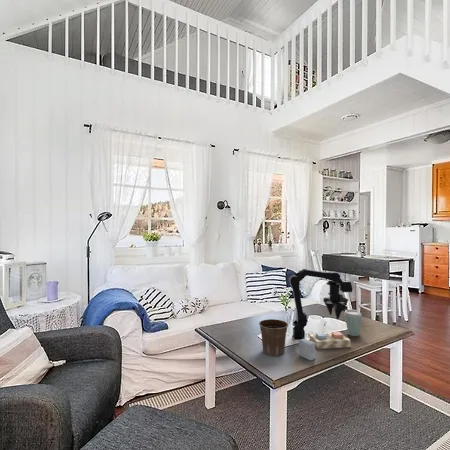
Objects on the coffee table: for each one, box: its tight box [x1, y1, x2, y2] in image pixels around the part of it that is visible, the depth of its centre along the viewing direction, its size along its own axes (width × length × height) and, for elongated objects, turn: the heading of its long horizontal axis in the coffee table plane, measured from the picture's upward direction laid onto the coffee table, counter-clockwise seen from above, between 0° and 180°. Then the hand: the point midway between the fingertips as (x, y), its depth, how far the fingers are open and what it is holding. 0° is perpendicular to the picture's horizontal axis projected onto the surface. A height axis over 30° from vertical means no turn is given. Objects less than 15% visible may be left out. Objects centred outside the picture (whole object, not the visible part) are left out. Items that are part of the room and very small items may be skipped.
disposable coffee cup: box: [343, 309, 363, 337], centre depth 198 cm, size 11×11×15 cm
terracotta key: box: [331, 331, 344, 339], centre depth 184 cm, size 5×5×3 cm
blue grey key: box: [315, 332, 327, 340], centre depth 183 cm, size 5×5×3 cm
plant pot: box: [258, 318, 289, 357], centre depth 173 cm, size 16×16×16 cm
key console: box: [309, 332, 351, 350], centre depth 183 cm, size 20×12×4 cm, turn 96°
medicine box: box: [298, 338, 316, 361], centre depth 165 cm, size 8×4×9 cm, turn 33°
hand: (334, 316), depth 192 cm, fingers open, 9 cm apart
